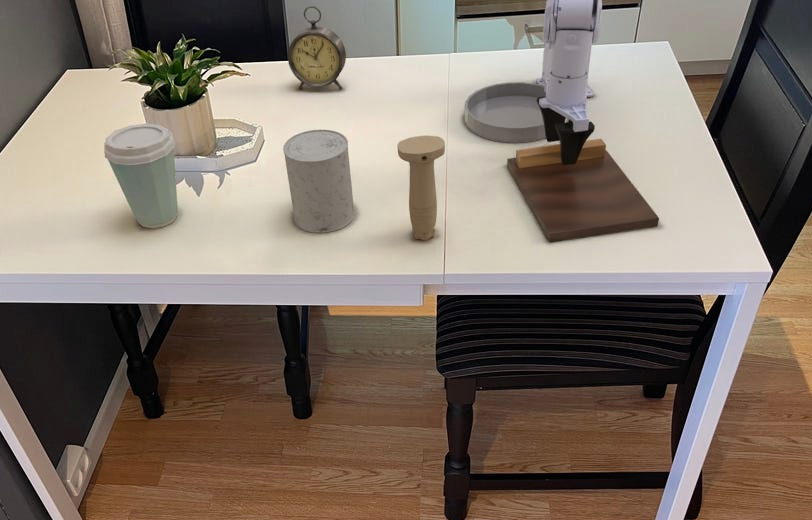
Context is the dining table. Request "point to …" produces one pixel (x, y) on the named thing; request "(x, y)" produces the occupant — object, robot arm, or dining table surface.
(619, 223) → the board
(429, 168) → the handle
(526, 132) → the tin
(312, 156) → the grey mottled cylinder
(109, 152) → the disposable coffee cup
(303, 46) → the alarm clock
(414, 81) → the dining table surface
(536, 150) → the stick
